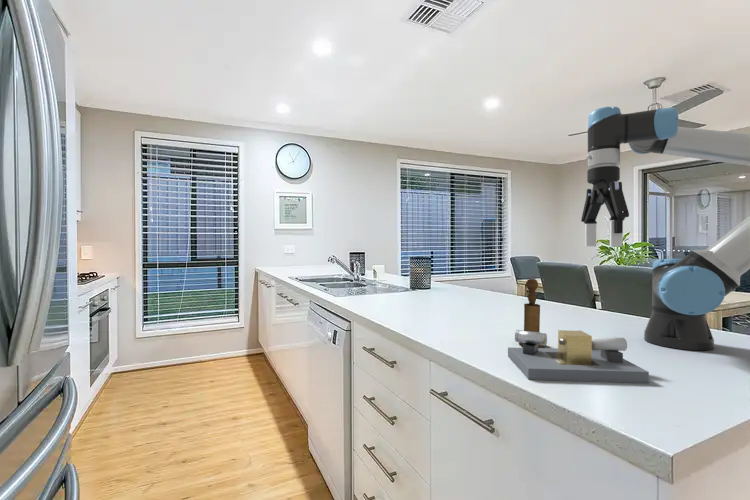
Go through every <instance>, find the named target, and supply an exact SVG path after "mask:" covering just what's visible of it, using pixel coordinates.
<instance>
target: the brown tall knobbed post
mask: <svg viewBox="0 0 750 500" xmlns="http://www.w3.org/2000/svg"><path fill="white" fill-rule="evenodd" d="M525 282H526V283H525V286H526V288H527V290H528V295H527V300H528V303H524V306H523V307H524V308H523V309H524V313H523V314H524V315H523V331H531V332H539V333H541V332H540V331H541V330H540V328H541V327H540V326H541V324H540V323H541V320H540V319H541V304H538V303H536V301H537V294H536V291H537V289H538V287H539V283H538V280H537V279H536V278H528V279H527V281H525ZM523 344H525V343H521V342H518V345H519V346H521V347H523ZM538 348H546V346H542V345H538Z"/></svg>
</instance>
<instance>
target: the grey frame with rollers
mask: <svg viewBox="0 0 750 500" xmlns="http://www.w3.org/2000/svg"><path fill="white" fill-rule="evenodd" d="M626 350H628V341H627V339H626V338H625V337H615V336H613V337H610V336H607V337H606V336H602V337H601V336H592V357H591V365H562V364H561V363H560V362H559V361H558V348H554V347H552V348H546V347H544V348H538V352H537V353H536V354H535V355H529V354H523V347H509V346H508V347H507V358H509V359H510V361H511V362H512V364H514V365H515V366H516V367H517V369H519V371H520V370H521V371H520V372H521V373H522V374H523V375H524V376H525V377H526V378H527V380H538V381H539V380H541V381H571V382H573V381H575V382H598V383H599V382H605V383H636V384H637V383H639V384H649V382H650V378H649V377H650V376H649V374H650V372H649V371H648V370H646V369H644V368H642V367H640V366H639V365H637V364H635V363H633V362H630V361H629V360H628V359H625V358H624V353H623V352H625V351H626ZM622 351H623V352H622Z"/></svg>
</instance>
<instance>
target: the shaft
mask: <svg viewBox="0 0 750 500" xmlns="http://www.w3.org/2000/svg"><path fill="white" fill-rule="evenodd" d="M514 341H515V343H519V342H521V343H525V344H523V346H522V348H523V354H529V355H535V354H536V353H537V352H538V345H542V346H545V347H546V346H547V345H548V344H547V343H548V335H547V333H546V332H540V333H539V332H531V331H524V329H523V330H521V329H515V332H514Z"/></svg>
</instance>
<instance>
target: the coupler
mask: <svg viewBox="0 0 750 500" xmlns="http://www.w3.org/2000/svg"><path fill="white" fill-rule="evenodd" d="M557 331H558V332H557V333H558V334H557V338H558V339H557V341H558V342H557V349H558V361H559V362H560V363H561V364H562V365H591V357H592V337H593V336H592V335H590V334H588V333H586V332H584V331H582V330H564V329H562V330H560V329H559V330H557Z"/></svg>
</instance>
